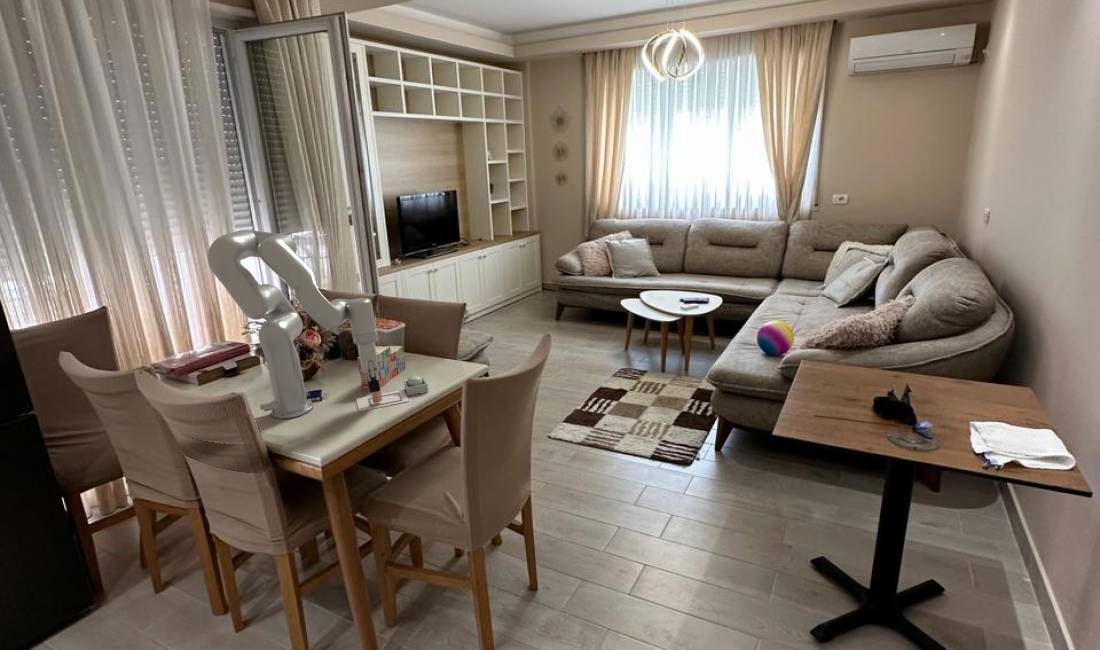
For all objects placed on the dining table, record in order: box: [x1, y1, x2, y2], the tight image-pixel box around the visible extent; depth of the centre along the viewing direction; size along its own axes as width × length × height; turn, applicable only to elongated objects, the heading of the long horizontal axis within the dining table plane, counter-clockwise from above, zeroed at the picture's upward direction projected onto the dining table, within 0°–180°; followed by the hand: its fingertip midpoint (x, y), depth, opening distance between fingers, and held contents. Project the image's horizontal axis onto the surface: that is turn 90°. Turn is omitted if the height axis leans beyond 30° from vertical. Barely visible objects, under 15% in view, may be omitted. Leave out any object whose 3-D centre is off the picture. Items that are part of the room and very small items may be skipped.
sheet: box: [355, 389, 410, 412], centre depth 194 cm, size 16×11×1 cm
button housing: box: [403, 377, 429, 397], centre depth 200 cm, size 7×7×3 cm
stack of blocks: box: [357, 345, 407, 391], centre depth 212 cm, size 21×6×12 cm, turn 166°
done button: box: [407, 375, 423, 387], centre depth 200 cm, size 5×5×3 cm
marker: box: [367, 369, 383, 403], centre depth 189 cm, size 3×3×12 cm
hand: (374, 389), depth 189 cm, fingers closed on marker, 3 cm apart
